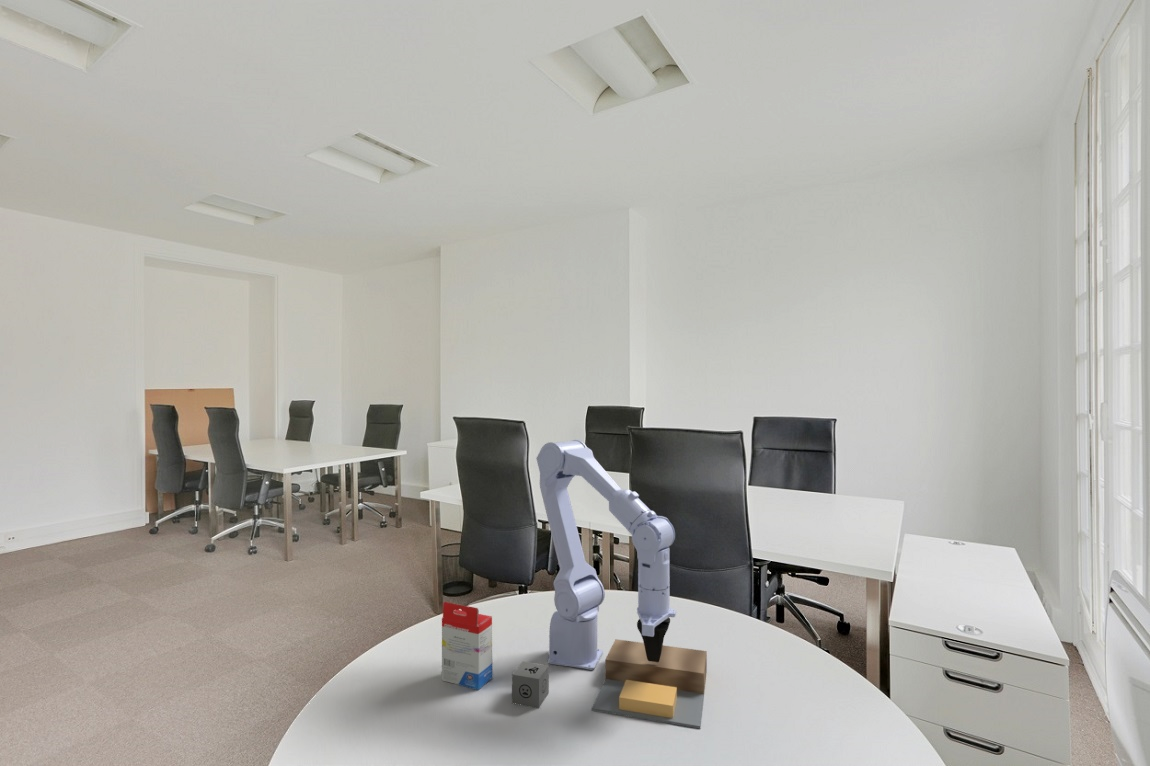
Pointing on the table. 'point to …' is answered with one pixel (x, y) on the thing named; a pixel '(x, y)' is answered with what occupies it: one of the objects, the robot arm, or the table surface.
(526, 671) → the dice cube
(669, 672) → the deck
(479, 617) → the ink box
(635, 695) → the yellow orange block
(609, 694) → the mat
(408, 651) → the table surface
